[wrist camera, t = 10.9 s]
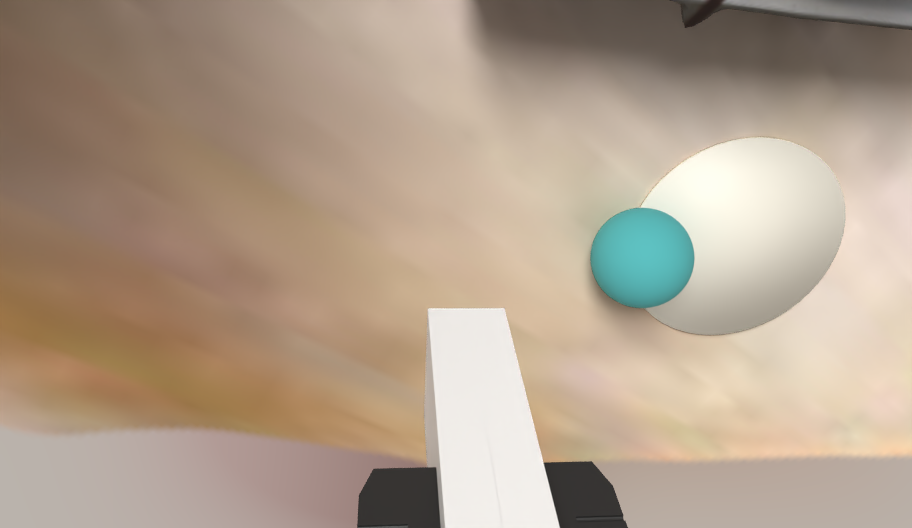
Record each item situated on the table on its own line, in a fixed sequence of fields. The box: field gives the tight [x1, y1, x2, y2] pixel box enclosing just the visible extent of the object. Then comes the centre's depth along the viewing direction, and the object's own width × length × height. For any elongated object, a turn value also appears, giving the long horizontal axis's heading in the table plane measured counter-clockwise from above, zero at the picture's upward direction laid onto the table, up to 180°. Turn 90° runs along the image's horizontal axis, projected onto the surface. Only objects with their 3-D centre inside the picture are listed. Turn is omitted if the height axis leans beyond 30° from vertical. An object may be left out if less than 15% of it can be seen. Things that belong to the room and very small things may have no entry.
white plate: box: [640, 137, 845, 335], centre depth 40 cm, size 13×13×1 cm
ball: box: [590, 208, 695, 308], centre depth 37 cm, size 6×6×6 cm
